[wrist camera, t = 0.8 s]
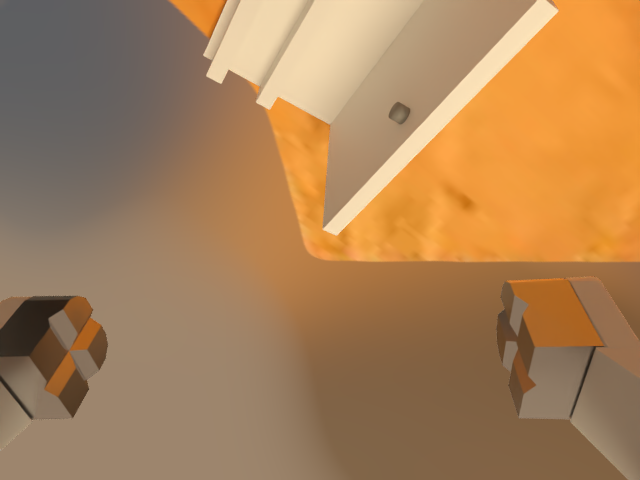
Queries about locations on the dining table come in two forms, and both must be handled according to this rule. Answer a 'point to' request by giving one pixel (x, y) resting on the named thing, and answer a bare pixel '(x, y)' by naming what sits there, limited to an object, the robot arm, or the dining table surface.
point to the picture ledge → (371, 73)
